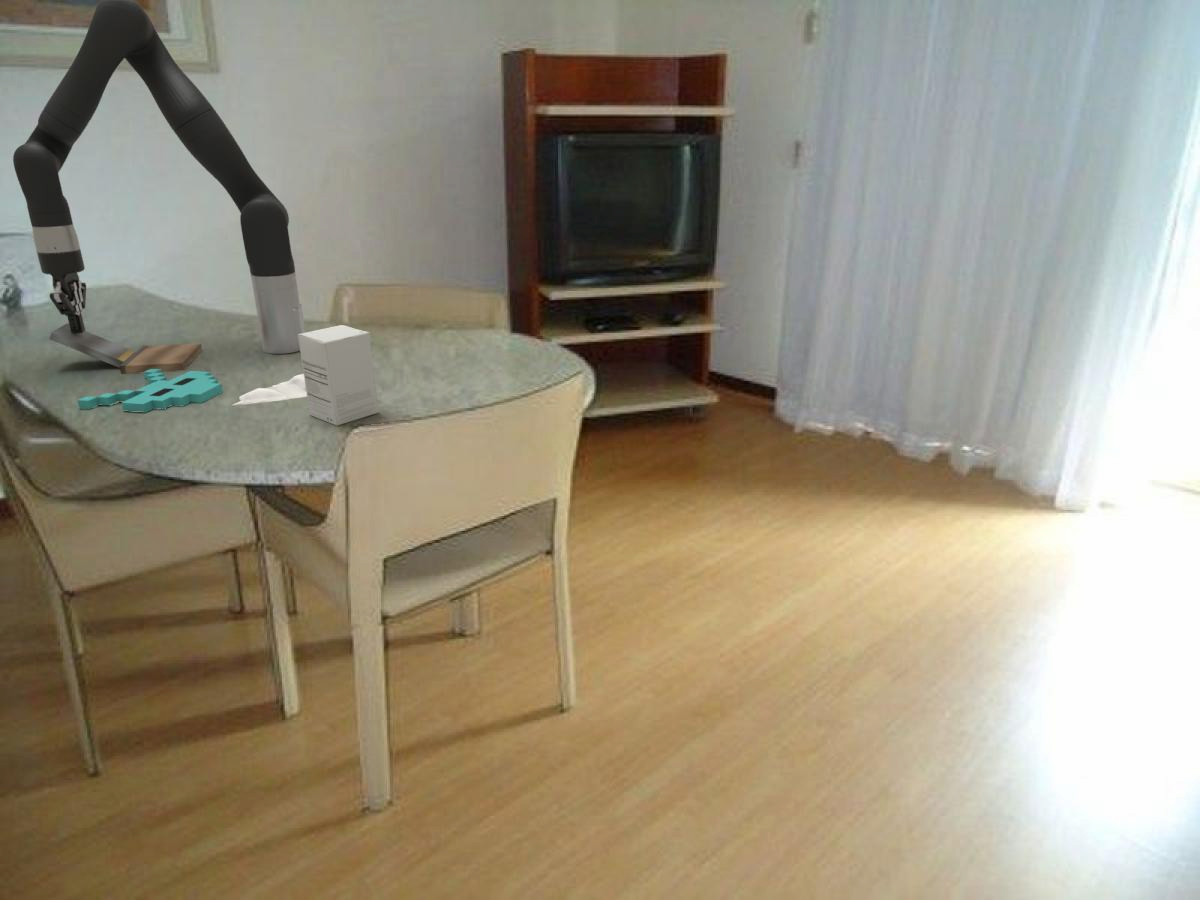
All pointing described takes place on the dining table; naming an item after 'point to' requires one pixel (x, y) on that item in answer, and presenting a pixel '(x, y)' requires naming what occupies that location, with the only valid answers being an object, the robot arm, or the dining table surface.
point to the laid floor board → (161, 358)
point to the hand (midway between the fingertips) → (78, 332)
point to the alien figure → (161, 392)
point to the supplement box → (338, 374)
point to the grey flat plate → (92, 345)
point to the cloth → (276, 392)
